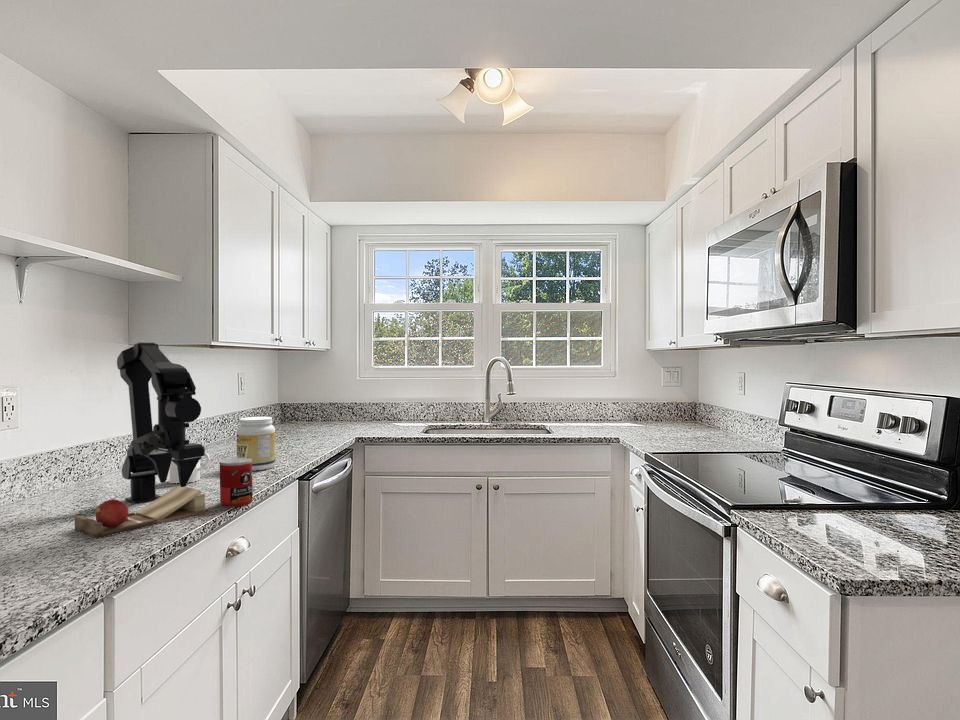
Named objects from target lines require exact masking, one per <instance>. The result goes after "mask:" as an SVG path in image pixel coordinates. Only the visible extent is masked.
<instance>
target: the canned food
mask: <svg viewBox="0 0 960 720" xmlns="http://www.w3.org/2000/svg"><path fill="white" fill-rule="evenodd" d="M253 488H254V487H253V471H252V459H250V458H237V457H231V458H226V459H222V460H220V461H219V495H220V496H219V497H220V498H219V501H220V505H221V506H223V507H226V506H227V507H229V508H230V507H231V508H235V507H243V506H245V505H249V504H251V503H252V502H253V498H254V495H253V493H254V491H253ZM227 507H226V508H227Z"/></svg>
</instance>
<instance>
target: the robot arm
mask: <svg viewBox="0 0 960 720" xmlns="http://www.w3.org/2000/svg"><path fill="white" fill-rule="evenodd" d="M116 359H117V360H116V366H117V369H118V370H119V375H120V377H121V379H122V380H123V381H124V382H125V383H126V385H127V386H128V393H129V394H128V395H129V407H130V419H131V420H130V421H131V430H132V440H131V441H130V445H129V446H128V448H127V450H126V457H125V458H124V461H123V465H122V467H121V477H122V478H123V479H125V480H130V496H129V497H125V498H124V500H125V501H127V500H128V501H127V502H131V503H134V502H135V504H139V503H143V502H148V501H154V500H156V499H157V498H159V497H161V496H162V495H158V494H157V493H156V492H157V491H156V490H157V485H156V476H157V477H158V479H159V483H161V484H162V483H163V484H164V483H166V481H167V478H168V476H169V473H170V465H171V461H172V462H174V463H175V464H176V465H177V468H178V475H179V482H180V484H179V485H180V487H187V485H188V484H189V483H188V481H189V478H190V476H191V474H192V472H193V470H194V468H195V467H196V465H197V463H198V461H199V460H200V461H201V460H202V458H203V457H205V453H206V447H205V446H204V445H203V444H202V443H197V442H196V443H194V442H192V443H190V440H189V439H186V428H190V423H192V422H194V421H196V420H197V419H198V418H199V417H200V415H201V413H202V406H201V405H200V403H199V401H198V400H197V399H196V398H193V396H195V395H197V394H196V393H197V392H196V389H197V388H196V385H195V383H194V380H193V378H192V376H191V373H190V372H189V371H188V369H187V368H186V367H184V366H183V365H182V364H178V363H173V362H171V360H170V359H168V357H167V356H166V355H165V353H163V352H162V351H161V350H160V347H159V345H158V343H155V342H138V343H137V342H136V343H135V344H134V345H133V346H131V347H128V348H126V349H124V350H122V351H121V352H120V354H118V356H117V358H116ZM150 381H151V386H152V387H153V389H154V392H155V393H156V395H157V397H156V400H157V419H158V420H157V423H155V424H154V425H153V418H152V407H151V398H150V397H151V396H150V395H151V394H150V387H149V382H150ZM172 457H173V458H174V459H172Z"/></svg>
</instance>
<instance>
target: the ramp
mask: <svg viewBox="0 0 960 720" xmlns="http://www.w3.org/2000/svg"><path fill="white" fill-rule="evenodd" d="M160 496H161V497H159V498H157V499H153V500H152V501H151V502H150V503H148V504H146V505H145V506H144V507H142V508H140V509H139V510H137V511H135V514H138V515H142V516H145V517H148V518H152V519H157V520H162V519H164V518H165V517H166V516H168V515H169V514H171V513H172V512H174V511H175V510H177V509H178V508H183V509H187V510H190V511H194V512H196V511H200V510H204V513H205V512H206V502H205V501H206V495H205V493H202V491H201V489H197V488H193V487H189V486H185V487H180V484H177V485H176V486H174V487H173V488H172V489H169V490H168V491H167V492H165V493H164V494H162V495H160Z"/></svg>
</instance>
